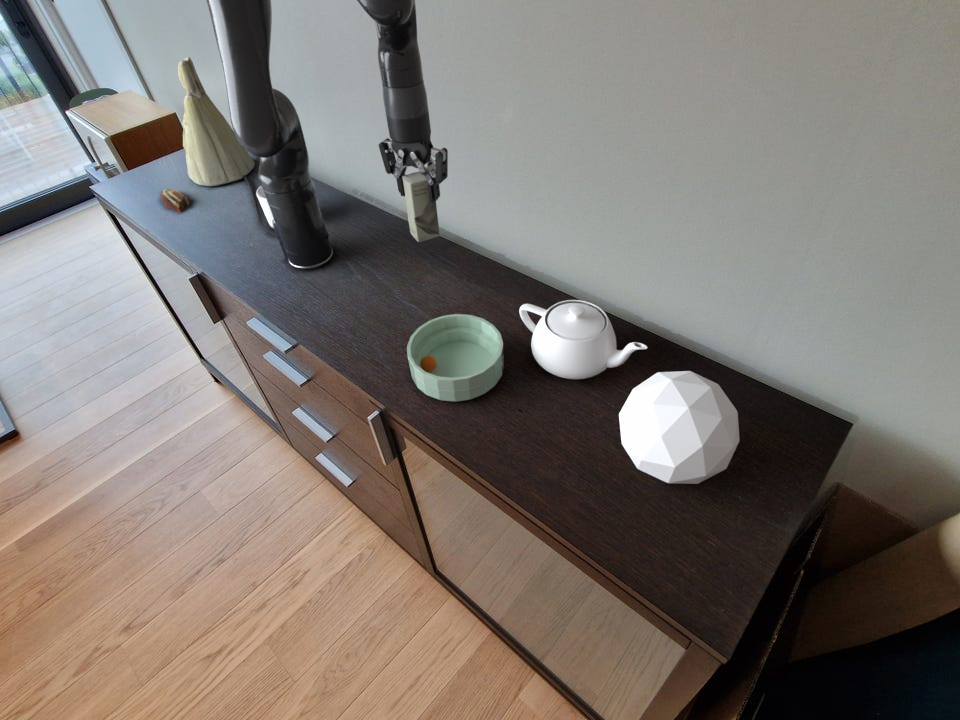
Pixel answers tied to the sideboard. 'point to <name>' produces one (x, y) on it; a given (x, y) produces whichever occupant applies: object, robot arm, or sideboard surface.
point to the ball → (428, 364)
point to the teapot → (575, 339)
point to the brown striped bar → (175, 200)
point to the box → (420, 207)
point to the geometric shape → (679, 427)
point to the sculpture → (209, 136)
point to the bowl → (456, 357)
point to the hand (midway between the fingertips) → (419, 197)
